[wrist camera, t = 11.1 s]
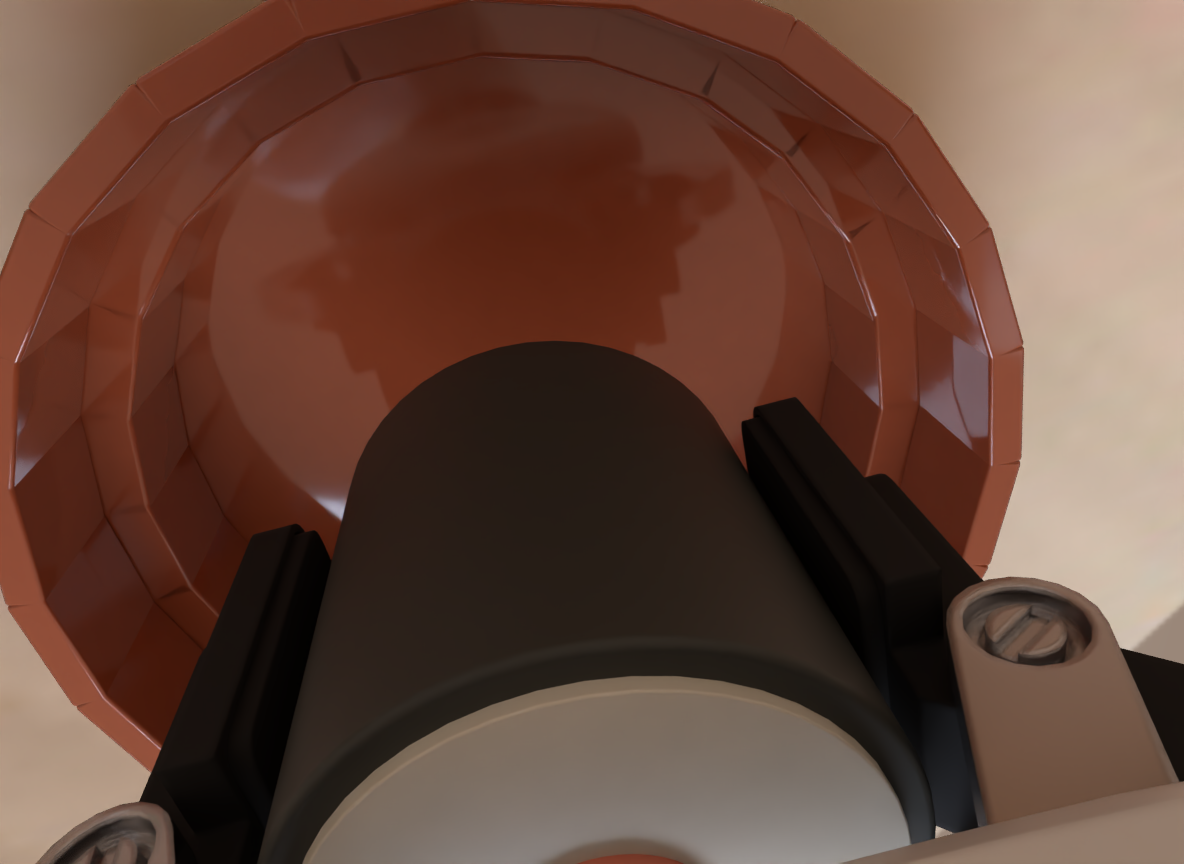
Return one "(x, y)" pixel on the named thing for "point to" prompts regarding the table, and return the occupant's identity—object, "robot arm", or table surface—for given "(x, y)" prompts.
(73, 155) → the bowl
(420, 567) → the sushi roll
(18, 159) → the table surface
